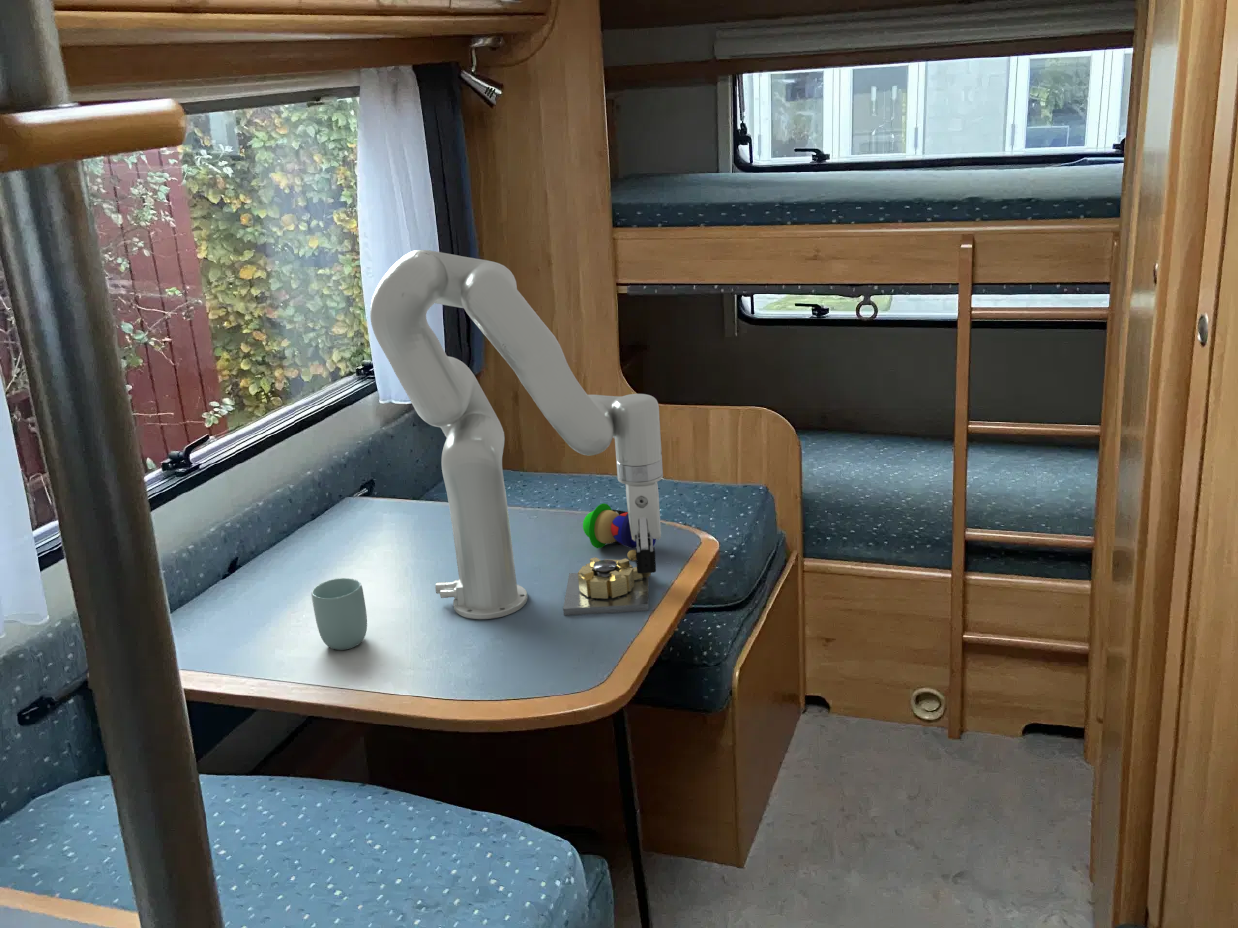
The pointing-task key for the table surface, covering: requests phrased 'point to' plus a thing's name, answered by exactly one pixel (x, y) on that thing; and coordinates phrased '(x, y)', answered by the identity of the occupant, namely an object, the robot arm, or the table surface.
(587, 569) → the ring nut
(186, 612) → the table surface
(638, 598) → the base plate
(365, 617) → the cup
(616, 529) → the toy
